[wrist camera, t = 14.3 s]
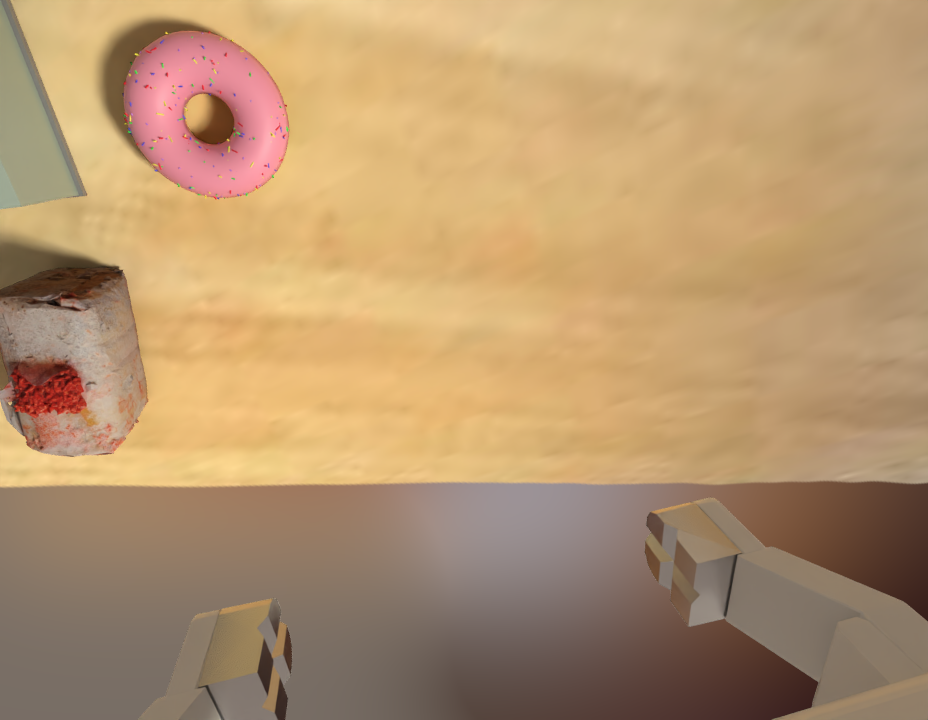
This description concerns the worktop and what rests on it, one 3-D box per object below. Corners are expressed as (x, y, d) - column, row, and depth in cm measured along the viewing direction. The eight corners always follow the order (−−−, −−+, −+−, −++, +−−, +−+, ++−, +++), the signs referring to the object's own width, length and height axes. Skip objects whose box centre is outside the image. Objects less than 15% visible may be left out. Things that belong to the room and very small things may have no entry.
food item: (163, 412, 46) (118, 476, 37) (65, 415, 45) (-7, 482, 36) (137, 266, 41) (77, 301, 32) (24, 263, 39) (-71, 299, 31)
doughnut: (222, 2, 35) (207, -14, 32) (321, 146, 40) (318, 147, 36) (100, 91, 36) (71, 85, 32) (212, 222, 41) (197, 230, 37)
